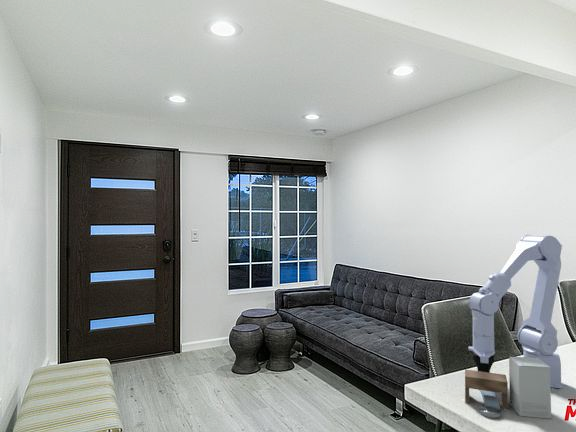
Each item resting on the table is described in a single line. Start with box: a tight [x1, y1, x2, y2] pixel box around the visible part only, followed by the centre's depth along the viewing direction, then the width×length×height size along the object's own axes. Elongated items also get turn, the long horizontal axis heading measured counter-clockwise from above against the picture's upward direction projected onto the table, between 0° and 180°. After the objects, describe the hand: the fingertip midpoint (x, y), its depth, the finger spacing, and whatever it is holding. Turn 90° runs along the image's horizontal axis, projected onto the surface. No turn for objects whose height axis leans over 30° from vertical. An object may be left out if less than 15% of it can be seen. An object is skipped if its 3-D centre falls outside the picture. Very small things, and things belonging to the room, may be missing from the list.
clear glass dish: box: [478, 405, 502, 420], centre depth 101 cm, size 5×5×1 cm
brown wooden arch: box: [464, 368, 509, 410], centre depth 108 cm, size 10×6×7 cm, turn 66°
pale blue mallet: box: [479, 390, 501, 411], centre depth 110 cm, size 4×16×4 cm, turn 162°
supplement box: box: [508, 356, 552, 420], centre depth 103 cm, size 7×7×13 cm
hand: (483, 380), depth 119 cm, fingers closed
